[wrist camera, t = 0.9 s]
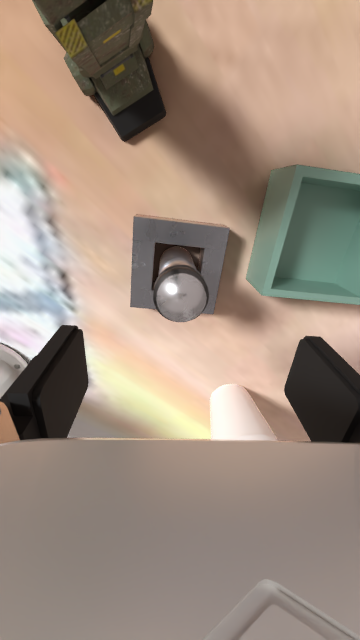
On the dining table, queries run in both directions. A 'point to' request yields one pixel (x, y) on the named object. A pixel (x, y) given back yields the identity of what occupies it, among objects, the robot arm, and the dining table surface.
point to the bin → (309, 236)
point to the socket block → (176, 233)
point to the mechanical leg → (109, 57)
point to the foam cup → (237, 416)
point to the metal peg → (179, 287)
